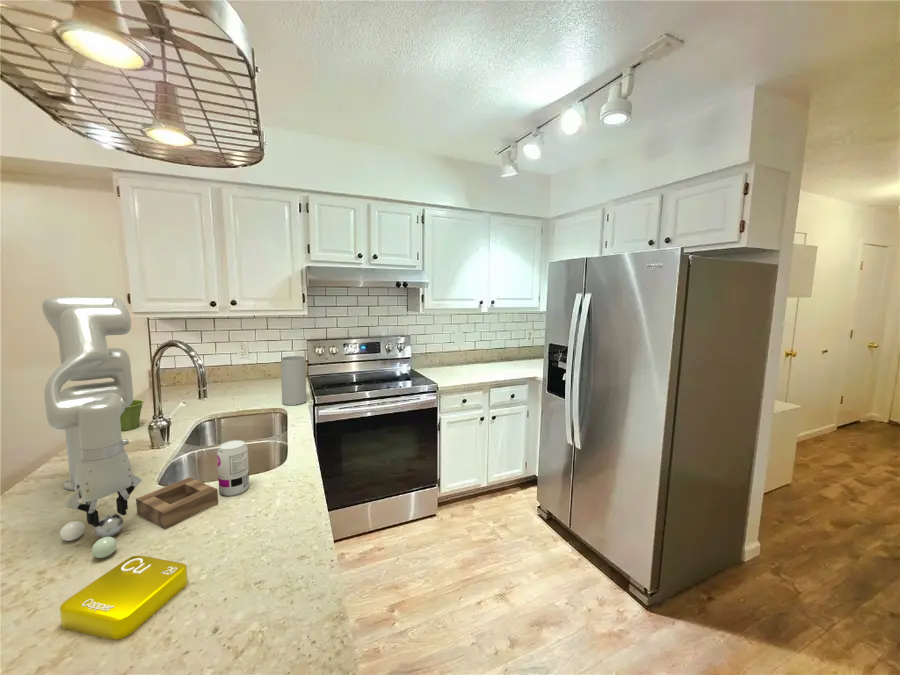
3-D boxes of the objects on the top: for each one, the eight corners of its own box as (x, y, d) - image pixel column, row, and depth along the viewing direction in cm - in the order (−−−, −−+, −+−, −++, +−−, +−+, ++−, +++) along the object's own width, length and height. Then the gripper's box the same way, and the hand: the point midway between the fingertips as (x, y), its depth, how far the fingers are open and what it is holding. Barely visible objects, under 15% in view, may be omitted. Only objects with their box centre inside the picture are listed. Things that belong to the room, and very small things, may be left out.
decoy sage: (88, 558, 88) (87, 540, 88) (112, 547, 92) (110, 530, 92) (97, 565, 86) (96, 547, 86) (121, 553, 90) (119, 536, 90)
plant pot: (130, 433, 160) (128, 408, 159) (102, 432, 161) (100, 407, 159) (152, 424, 172) (150, 400, 171) (126, 423, 172) (124, 399, 171)
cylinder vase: (276, 404, 206) (275, 359, 203) (292, 398, 218) (291, 355, 215) (296, 407, 202) (295, 361, 199) (311, 400, 214) (310, 357, 211)
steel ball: (91, 538, 95) (89, 518, 95) (117, 526, 100) (116, 507, 99) (101, 545, 93) (99, 524, 92) (128, 532, 98) (126, 513, 97)
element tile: (55, 628, 71) (53, 605, 70) (135, 570, 86) (133, 551, 85) (121, 644, 68) (119, 620, 68) (192, 582, 83) (191, 561, 82)
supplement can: (215, 498, 114) (213, 451, 112) (223, 484, 122) (221, 440, 120) (245, 495, 116) (243, 448, 115) (251, 482, 124) (250, 438, 122)
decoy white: (57, 541, 94) (55, 524, 93) (80, 531, 98) (79, 515, 97) (65, 547, 92) (63, 530, 91) (88, 536, 96) (87, 520, 95)
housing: (137, 513, 106) (135, 498, 105) (190, 490, 118) (189, 477, 118) (164, 529, 99) (163, 513, 99) (218, 503, 112) (217, 489, 111)
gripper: (135, 436, 103) (140, 499, 105) (48, 460, 88) (56, 533, 90) (150, 442, 99) (155, 507, 102) (62, 468, 84) (69, 543, 87)
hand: (108, 518), depth 96 cm, fingers open, 4 cm apart
